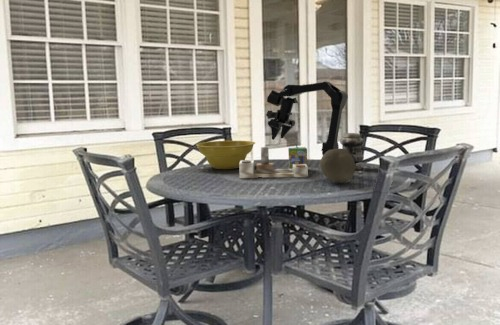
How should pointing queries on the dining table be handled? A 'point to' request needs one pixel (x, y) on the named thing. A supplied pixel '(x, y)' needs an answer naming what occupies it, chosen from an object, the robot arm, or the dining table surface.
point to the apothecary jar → (353, 146)
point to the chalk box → (297, 156)
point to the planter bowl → (225, 153)
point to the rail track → (271, 171)
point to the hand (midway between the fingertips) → (277, 138)
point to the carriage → (264, 160)
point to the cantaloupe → (338, 165)
